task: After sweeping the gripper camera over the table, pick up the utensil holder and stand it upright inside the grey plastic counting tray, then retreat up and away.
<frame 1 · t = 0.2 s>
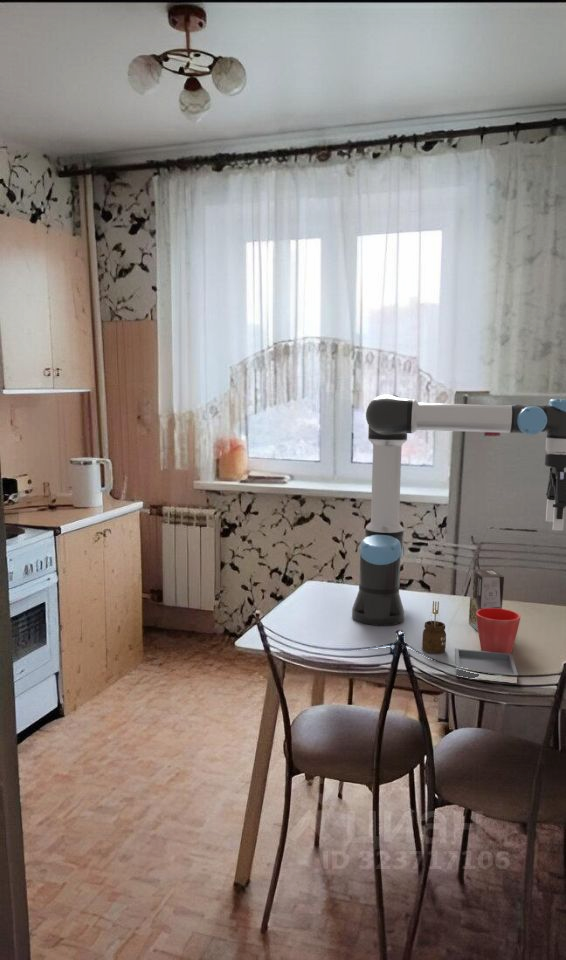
hand: (554, 525, 202), 28 cm above the table, fingers open, 13 cm apart
counting tray: (484, 669, 167), on the table
utensil holder: (433, 650, 179), on the table
coffee box: (484, 628, 196), on the table
flower pot: (495, 650, 180), on the table
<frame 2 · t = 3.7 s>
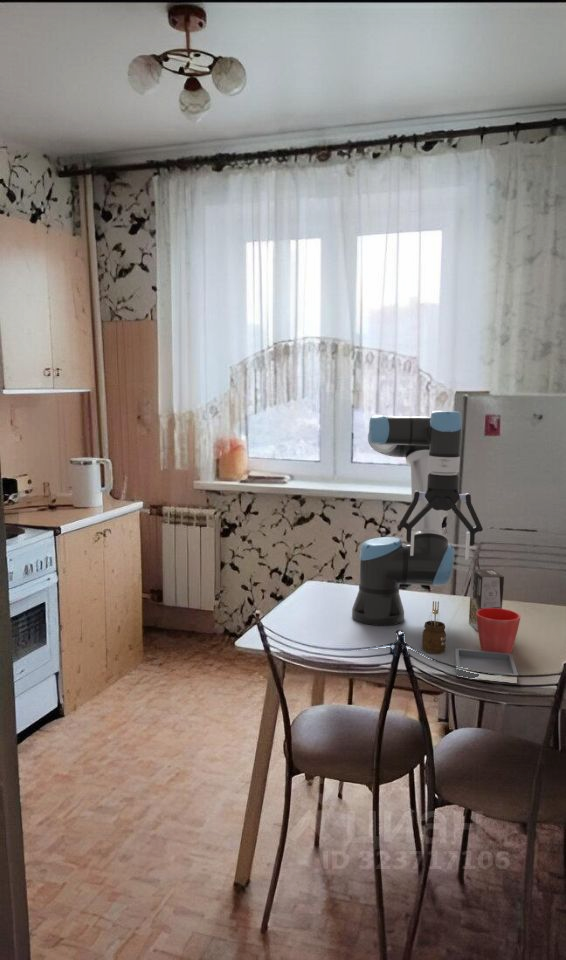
hand: (439, 556, 176), 25 cm above the table, fingers open, 13 cm apart
nothing on the table moved.
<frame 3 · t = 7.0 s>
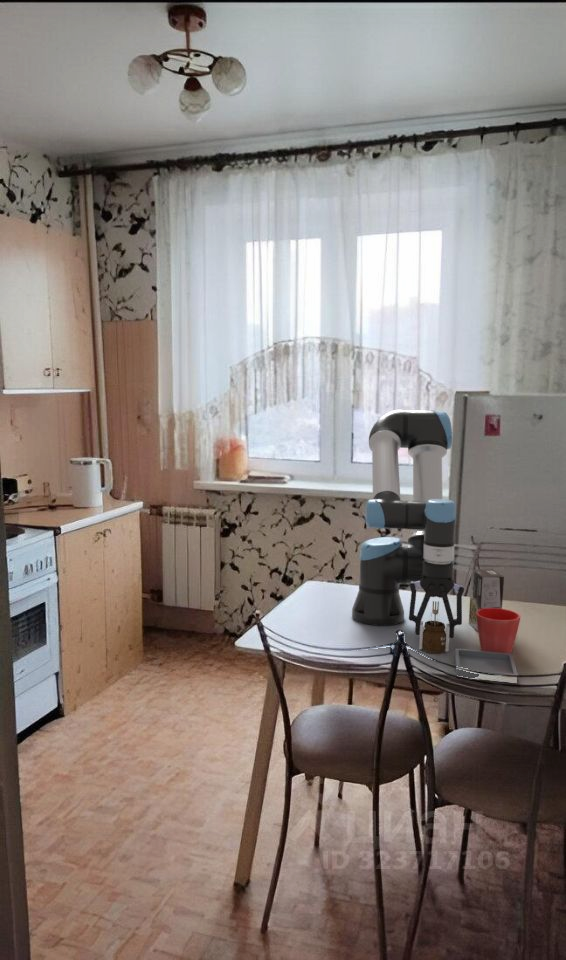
hand: (433, 648, 179), 0 cm above the table, fingers closed on utensil holder, 6 cm apart
utensil holder: (433, 650, 179), on the table, touching gripper
everything else where it was.
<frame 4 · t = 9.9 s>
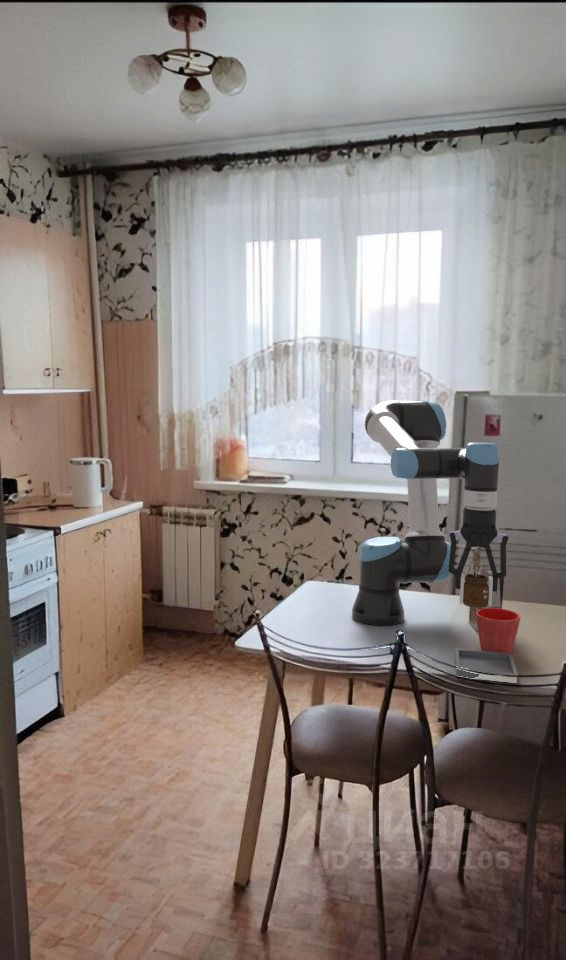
hand: (475, 603, 167), 16 cm above the table, fingers closed on utensil holder, 6 cm apart
utensil holder: (475, 605, 167), point 15 cm above the table, touching gripper
everything else where it was.
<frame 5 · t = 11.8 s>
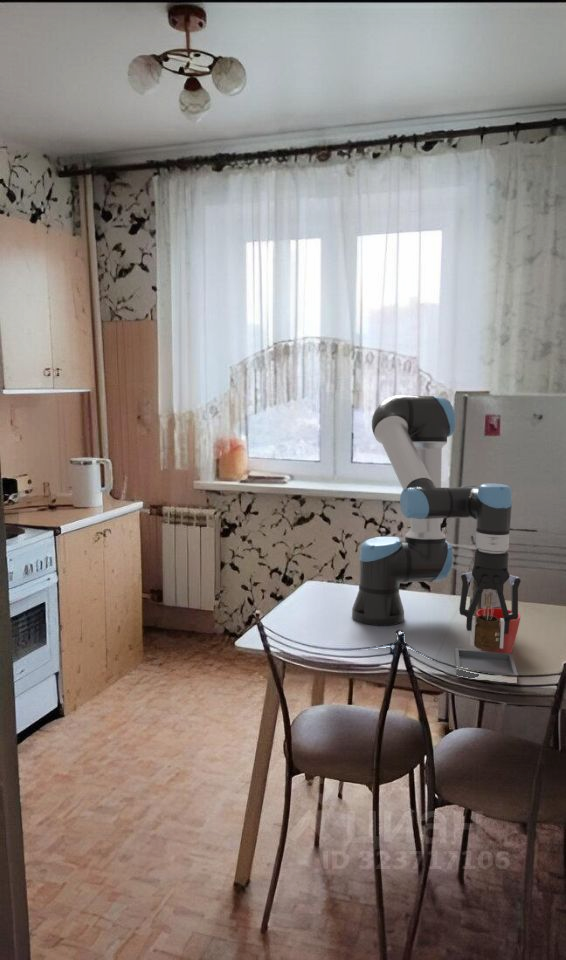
hand: (486, 644, 166), 6 cm above the table, fingers closed on utensil holder, 6 cm apart
utensil holder: (486, 647, 166), point 6 cm above the table, touching gripper
everything else where it was.
when the fingers open (2 cm above the table, at t = 12.9 s): utensil holder drops 1 cm, resting on counting tray.
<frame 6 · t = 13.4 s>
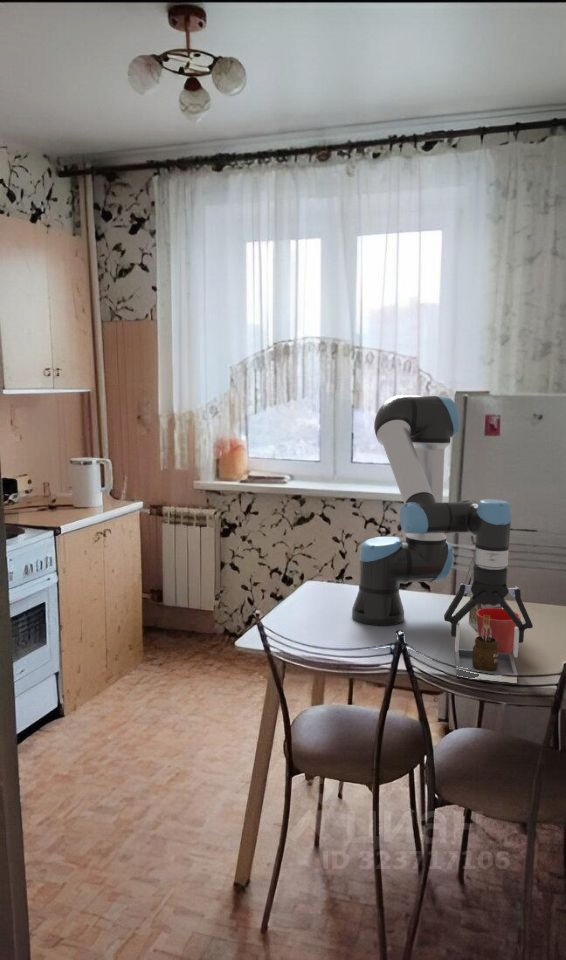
hand: (485, 652, 166), 4 cm above the table, fingers open, 13 cm apart
utensil holder: (484, 667, 167), resting on counting tray
everything else where it was.
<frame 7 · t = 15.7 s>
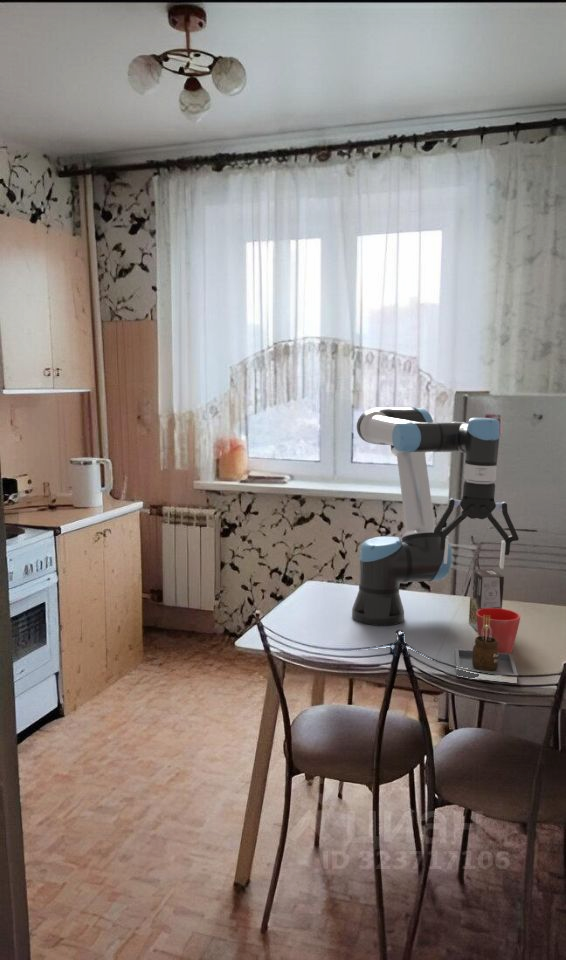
hand: (473, 564, 174), 23 cm above the table, fingers open, 13 cm apart
nothing on the table moved.
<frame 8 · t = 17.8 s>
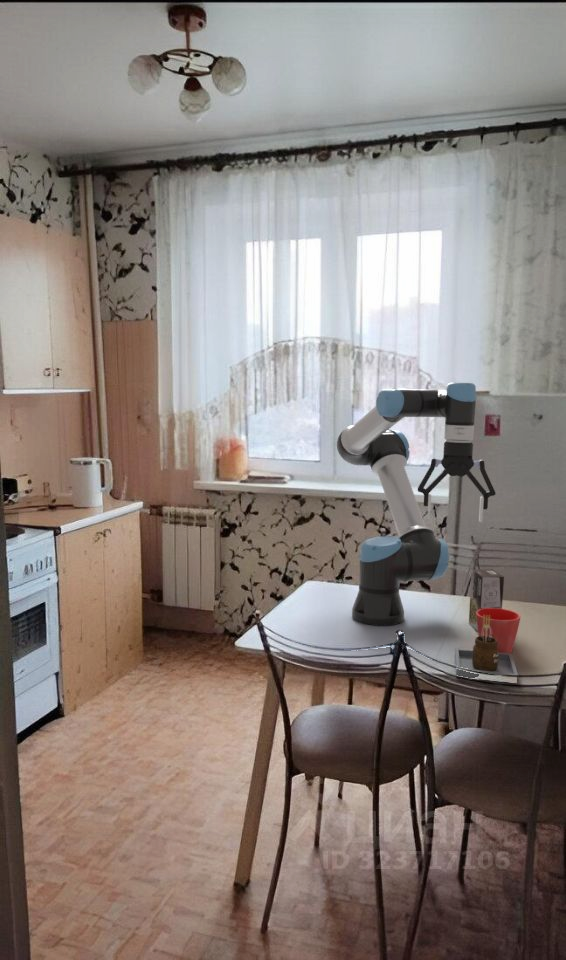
hand: (454, 519, 188), 32 cm above the table, fingers open, 13 cm apart
nothing on the table moved.
at the end: utensil holder inside the target area on the counting tray (0.0 cm from its centre), point 0.4 cm above the counting tray's base; utensil holder tilted 0°; utensil holder touching counting tray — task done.
